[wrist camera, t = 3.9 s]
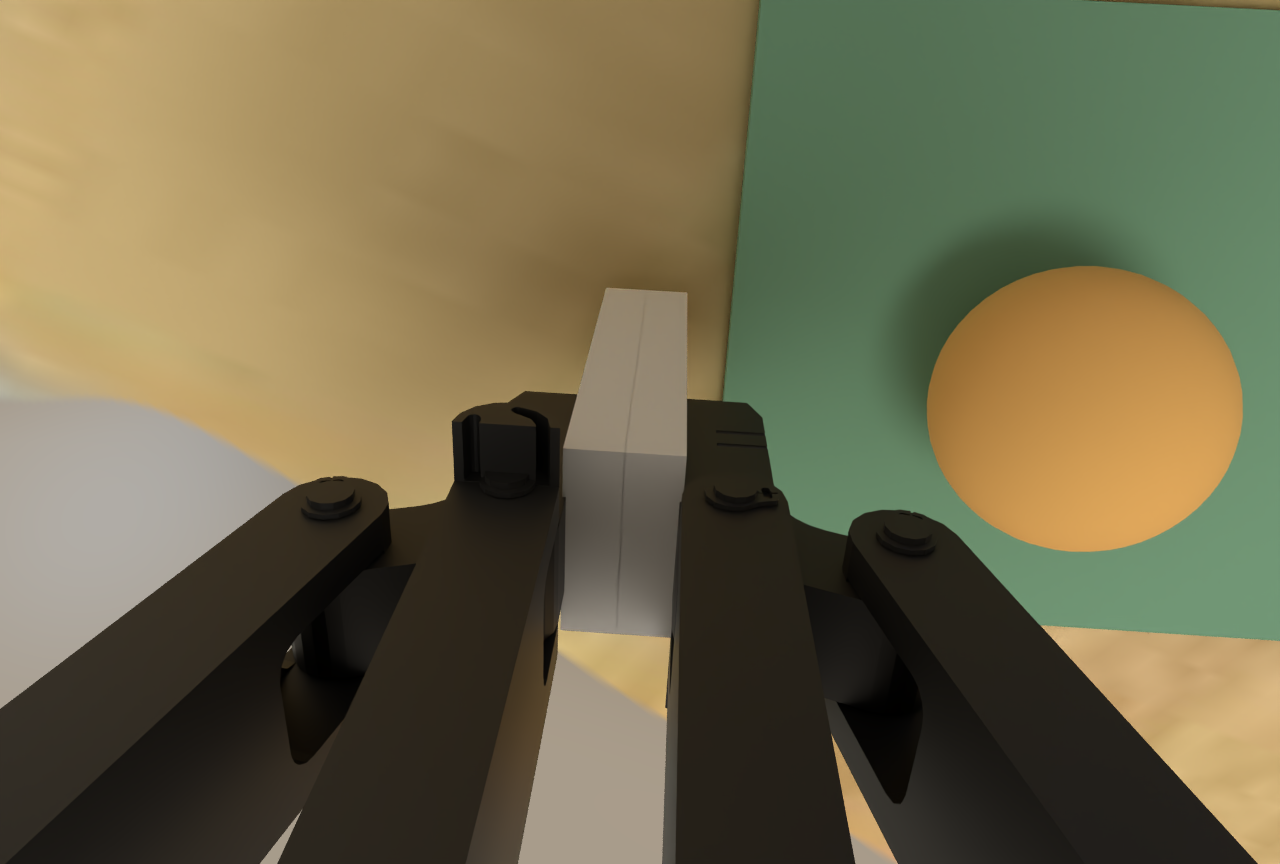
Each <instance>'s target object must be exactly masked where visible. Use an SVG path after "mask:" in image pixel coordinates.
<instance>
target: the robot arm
mask: <svg viewBox="0 0 1280 864" xmlns="http://www.w3.org/2000/svg"><path fill="white" fill-rule="evenodd" d="M452 435H453V457H454V480H455V481H454V483H453V485H452V487H451V489H450V492H449V494H448V496H447V498H446V500H443V501H440V502H437V503H433V504H428V505H422V506H416V507H407V508H398V509H389V503H388V496H387V492H386V491H385V490H384V489H382V488H381V487H380V486H379V485H378V484H376V483H373V482H370V481H367V480H364V479H359V478H347V477H344V476H334V477H333V478H330V477H325V478H320V479H317V480H315V481H312V482H308V483H305V484H301V485H299V486H297V487H295V488H293V489H291V490H289V491H288V492H286V493H284V494H283V495H281V496H280V497H279V498H277V499H276V500H275V501H273V502H272V503H271V504H269V505H268V506H267V507H265V508H264V509H263V510H261V511H260V512H259V513H258V514H256V515H255V516H254V517H252V518H251V519H250V520H248V521H247V522H246V523H245V524H243V525H242V526H240V527H239V528H238V529H236V530H235V531H234V532H233V533H231V534H230V535H229V536H227V537H226V538H225V539H223V540H222V541H221V542H220V543H218V544H217V545H215V546H214V547H213V548H211V549H210V550H209V551H208V552H206V553H205V554H204V555H202V556H201V557H200V558H198V559H197V560H196V561H194V562H193V563H192V564H190V565H189V566H188V567H186V568H185V569H184V570H183V571H181V572H180V573H179V574H177V575H176V576H175V577H173V578H172V579H171V580H169V581H168V582H167V583H165V584H164V585H163V586H161V587H160V588H159V589H158V590H156V591H155V592H154V593H152V594H151V595H150V596H148V597H147V598H146V599H144V600H143V601H142V602H140V603H139V604H138V605H136V606H135V607H134V608H133V609H131V610H130V611H129V612H127V613H126V614H125V615H123V616H122V617H121V618H119V619H118V620H117V621H115V622H114V623H113V624H111V625H110V626H109V627H108V628H106V629H105V630H104V631H102V632H101V633H100V634H98V635H97V636H96V637H95V638H93V639H92V640H90V641H89V642H88V643H86V644H85V645H84V646H83V647H81V648H80V649H79V650H77V651H76V652H75V653H73V654H72V655H71V656H69V657H68V658H67V659H65V660H64V661H63V662H62V663H60V664H59V665H58V666H56V667H55V668H54V669H52V670H51V671H50V672H48V673H47V674H46V675H44V676H43V677H42V678H40V679H39V680H38V681H36V682H35V683H34V684H33V685H31V686H30V687H29V688H27V689H26V690H25V691H23V692H22V693H21V694H19V695H18V696H17V697H16V698H14V699H13V700H11V701H10V702H9V703H8V704H6V705H5V706H4V707H2V708H1V709H0V864H260V862H261V861H262V860H263V859H264V857H265V856H266V855H267V854H268V852H269V851H270V850H271V848H272V847H273V846H274V845H275V843H276V842H277V841H278V839H279V838H280V837H281V836H282V834H283V833H284V832H285V831H286V829H287V828H288V826H289V825H290V824H291V823H292V821H293V820H294V819H295V818H296V816H297V815H298V814H299V813H300V811H301V810H302V811H301V814H300V816H299V818H298V820H297V822H296V824H295V827H294V829H293V831H292V833H291V835H290V837H289V840H288V842H287V844H286V846H285V848H284V851H283V853H282V855H281V857H280V859H279V861H278V864H518V860H519V854H520V849H521V844H522V839H523V833H524V827H525V823H526V817H527V812H528V807H529V802H530V796H531V791H532V786H533V780H534V775H535V770H536V765H537V760H538V754H539V749H540V744H541V739H542V733H543V728H544V723H545V718H546V712H547V706H548V702H549V696H550V691H551V686H552V681H553V675H554V670H555V664H556V660H557V652H558V620H559V615H560V610H561V630H567V631H582V632H597V633H611V634H626V635H640V636H655V637H670V638H671V642H670V655H669V667H668V680H667V693H666V706H665V708H667V738H666V767H665V799H664V828H663V829H664V830H663V860H662V864H855V860H854V855H853V849H852V844H851V838H850V833H849V827H848V822H847V816H846V811H845V806H844V800H843V795H842V790H841V784H840V779H839V773H838V768H837V763H836V757H835V752H834V747H833V741H832V736H833V738H834V740H835V742H836V744H837V746H838V747H839V749H840V751H841V753H842V755H843V757H844V759H845V761H846V763H847V765H848V767H849V769H850V771H851V773H852V775H853V777H854V779H855V781H856V783H857V785H858V787H859V789H860V791H861V792H862V794H863V796H864V798H865V800H866V802H867V804H868V806H869V808H870V810H871V812H872V814H873V816H874V818H875V820H876V822H877V824H878V826H879V828H880V830H881V832H882V834H883V835H884V837H885V839H886V841H887V843H888V845H889V847H890V849H891V851H892V853H893V855H894V857H895V859H896V861H897V863H898V864H1257V862H1256V861H1255V860H1254V859H1253V858H1252V857H1251V856H1250V855H1249V854H1248V853H1247V852H1246V850H1245V849H1244V848H1243V847H1242V846H1241V845H1240V844H1239V843H1238V842H1237V841H1236V839H1235V838H1234V837H1233V836H1232V835H1231V834H1230V833H1229V832H1228V831H1227V830H1226V829H1225V827H1224V826H1223V825H1222V824H1221V823H1220V822H1219V821H1218V820H1217V819H1216V818H1215V816H1214V815H1213V814H1212V813H1211V812H1210V811H1209V810H1208V809H1207V808H1206V807H1205V806H1204V804H1203V803H1202V802H1201V801H1200V800H1199V799H1198V798H1197V797H1196V796H1195V795H1194V793H1193V792H1192V791H1191V790H1190V789H1189V788H1188V787H1187V786H1186V785H1185V784H1184V783H1183V781H1182V780H1181V779H1180V778H1179V777H1178V776H1177V775H1176V774H1175V773H1174V772H1173V770H1172V769H1171V768H1170V767H1169V766H1168V765H1167V764H1166V763H1165V762H1164V761H1163V760H1162V758H1161V757H1160V756H1159V755H1158V754H1157V753H1156V752H1155V751H1154V750H1153V749H1152V747H1151V746H1150V745H1149V744H1148V743H1147V742H1146V741H1145V740H1144V739H1143V738H1142V737H1141V735H1140V734H1139V733H1138V732H1137V731H1136V730H1135V729H1134V728H1133V727H1132V726H1131V724H1130V723H1129V722H1128V721H1127V720H1126V719H1125V718H1124V717H1123V716H1122V715H1121V714H1120V712H1119V711H1118V710H1117V709H1116V708H1115V707H1114V706H1113V705H1112V704H1111V703H1110V701H1109V700H1108V699H1107V698H1106V697H1105V696H1104V695H1103V694H1102V693H1101V692H1100V691H1099V689H1098V688H1097V687H1096V686H1095V685H1094V684H1093V683H1092V682H1091V681H1090V680H1089V678H1088V677H1087V676H1086V675H1085V674H1084V673H1083V672H1082V671H1081V670H1080V669H1079V668H1078V666H1077V665H1076V664H1075V663H1074V662H1073V661H1072V660H1071V659H1070V658H1069V657H1068V656H1067V654H1066V653H1065V652H1064V651H1063V650H1062V649H1061V648H1060V647H1059V646H1058V645H1057V643H1056V642H1055V641H1054V640H1053V639H1052V638H1051V637H1050V636H1049V635H1048V634H1047V633H1046V631H1045V630H1044V629H1043V628H1042V627H1041V626H1040V625H1039V624H1038V623H1037V622H1036V620H1035V619H1034V618H1033V617H1032V616H1031V615H1030V614H1029V613H1028V612H1027V611H1026V610H1025V608H1024V607H1023V606H1022V605H1021V604H1020V603H1019V602H1018V601H1017V600H1016V599H1015V597H1014V596H1013V595H1012V594H1011V593H1010V592H1009V591H1008V590H1007V589H1006V588H1005V587H1004V585H1003V584H1002V583H1001V582H1000V581H999V580H998V579H997V578H996V577H995V576H994V574H993V573H992V572H991V571H990V570H989V569H988V568H987V567H986V566H985V565H984V564H983V562H982V561H981V560H980V559H979V558H978V557H977V556H976V555H975V554H974V553H973V551H972V550H971V549H970V548H969V547H968V546H967V545H966V544H965V543H964V542H963V541H962V539H961V538H960V537H959V536H958V535H957V534H956V533H954V532H953V531H952V530H950V529H949V528H948V527H947V526H945V525H944V524H942V523H940V522H938V521H935V520H933V519H931V518H929V517H927V516H925V515H923V514H920V513H916V512H913V513H911V511H907V510H877V511H872V512H867V513H864V514H862V515H860V516H859V517H857V518H855V519H854V520H853V521H852V523H851V526H850V528H849V531H848V536H847V535H842V534H838V533H834V532H830V531H826V530H823V529H820V528H817V527H813V526H810V525H808V524H806V523H804V522H802V521H800V520H798V519H796V518H794V517H793V516H792V515H790V510H789V505H788V501H787V499H786V497H785V496H784V494H783V492H782V491H781V490H779V489H778V488H777V487H775V486H774V482H773V477H772V471H771V465H770V459H769V453H768V449H767V441H766V436H765V430H764V424H763V418H762V417H761V416H760V415H759V414H758V413H757V412H756V411H755V410H754V409H753V408H752V407H751V406H750V405H749V404H748V403H742V402H727V401H711V400H695V399H687V292H671V291H654V290H638V289H621V288H606V290H605V294H604V298H603V301H602V305H601V309H600V312H599V316H598V320H597V324H596V327H595V331H594V335H593V338H592V342H591V346H590V350H589V353H588V357H587V361H586V364H585V368H584V372H583V376H582V379H581V383H580V387H579V391H578V394H561V393H546V392H530V391H525V392H523V393H522V394H520V395H519V396H517V397H516V398H514V399H513V400H511V401H510V402H508V403H492V404H486V405H481V406H476V407H473V408H471V409H469V410H466V411H464V412H462V413H460V414H459V415H458V416H457V417H456V418H455V419H454V420H453V421H452ZM291 645H292V648H291V649H290V650H289V651H288V652H287V650H288V649H289V648H290V646H291ZM831 734H832V736H831Z"/></svg>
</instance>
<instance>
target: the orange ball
mask: <svg viewBox="0 0 1280 864" xmlns="http://www.w3.org/2000/svg"><path fill="white" fill-rule="evenodd" d="M1242 420H1243V399H1242V388H1241V382H1240V377H1239V374H1238V371H1237V368H1236V365H1235V362H1234V360H1233V357H1232V354H1231V351H1230V349H1229V348H1228V346H1227V344H1226V342H1225V341H1224V339H1223V337H1222V336H1221V334H1220V333H1219V331H1218V330H1217V329H1216V327H1215V326H1214V325H1213V324H1212V322H1211V321H1210V320H1209V319H1208V317H1207V316H1206V315H1205V314H1204V313H1203V312H1202V311H1200V310H1199V309H1198V308H1197V307H1196V306H1195V305H1194V304H1192V303H1191V302H1190V301H1189V300H1188V299H1186V298H1185V297H1184V296H1183V295H1181V294H1179V293H1178V292H1176V291H1175V290H1173V289H1171V288H1170V287H1168V286H1166V285H1164V284H1162V283H1160V282H1158V281H1155V280H1153V279H1150V278H1148V277H1146V276H1143V275H1141V274H1137V273H1133V272H1130V271H1126V270H1121V269H1115V268H1108V267H1100V266H1074V267H1066V268H1058V269H1051V270H1047V271H1043V272H1039V273H1035V274H1032V275H1030V276H1027V277H1024V278H1022V279H1019V280H1016V281H1015V282H1013V283H1011V284H1009V285H1007V286H1005V287H1003V288H1001V289H999V290H998V291H996V292H995V293H993V294H992V295H990V296H989V297H987V298H986V299H984V300H983V301H982V302H981V303H980V304H978V305H977V306H976V307H975V308H974V309H972V310H971V311H970V312H969V313H968V314H967V315H966V316H965V318H964V319H963V320H962V321H961V322H960V323H959V324H958V325H957V327H956V328H955V329H954V331H953V332H952V333H951V335H950V336H949V338H948V339H947V341H946V343H945V345H944V346H943V348H942V350H941V352H940V354H939V356H938V359H937V361H936V364H935V366H934V370H933V373H932V377H931V380H930V384H929V389H928V397H927V424H928V431H929V437H930V442H931V445H932V448H933V451H934V454H935V457H936V459H937V462H938V465H939V467H940V469H941V470H942V472H943V474H944V476H945V478H946V479H947V481H948V482H949V484H950V485H951V487H952V488H953V489H954V491H955V492H956V493H957V495H958V496H959V497H960V499H961V500H962V501H963V502H964V503H965V504H966V505H967V506H968V507H969V508H970V509H971V510H973V511H974V512H975V513H976V514H977V515H978V516H979V517H981V518H982V519H983V520H985V521H986V522H988V523H989V524H990V525H992V526H993V527H995V528H997V529H999V530H1001V531H1003V532H1005V533H1006V534H1008V535H1010V536H1012V537H1014V538H1016V539H1019V540H1022V541H1024V542H1027V543H1029V544H1033V545H1037V546H1041V547H1045V548H1049V549H1054V550H1061V551H1069V552H1095V551H1105V550H1113V549H1118V548H1123V547H1127V546H1130V545H1134V544H1137V543H1140V542H1143V541H1145V540H1148V539H1150V538H1152V537H1155V536H1157V535H1159V534H1161V533H1163V532H1165V531H1166V530H1168V529H1170V528H1172V527H1173V526H1175V525H1176V524H1178V523H1179V522H1181V521H1182V520H1184V519H1185V518H1187V517H1188V516H1189V515H1190V514H1191V513H1192V512H1194V511H1195V510H1196V509H1197V508H1198V507H1199V506H1200V505H1201V504H1202V503H1203V502H1204V501H1205V500H1206V499H1207V498H1208V497H1209V496H1210V495H1211V493H1212V492H1213V491H1214V490H1215V488H1216V487H1217V486H1218V484H1219V483H1220V481H1221V480H1222V478H1223V476H1224V475H1225V473H1226V472H1227V470H1228V468H1229V465H1230V463H1231V461H1232V459H1233V456H1234V454H1235V451H1236V448H1237V444H1238V441H1239V437H1240V434H1241V427H1242Z"/></svg>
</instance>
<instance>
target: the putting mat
mask: <svg viewBox="0 0 1280 864" xmlns="http://www.w3.org/2000/svg"><path fill="white" fill-rule="evenodd" d="M1074 266H1100V267H1108V268H1115V269H1121V270H1126V271H1130V272H1133V273H1137V274H1141V275H1143V276H1146V277H1148V278H1150V279H1153V280H1155V281H1158V282H1160V283H1162V284H1164V285H1166V286H1168V287H1170V288H1171V289H1173V290H1175V291H1176V292H1178V293H1179V294H1181V295H1183V296H1184V297H1185V298H1186V299H1188V300H1189V301H1190V302H1191V303H1192V304H1194V305H1195V306H1196V307H1197V308H1198V309H1199V310H1200V311H1202V312H1203V313H1204V314H1205V315H1206V316H1207V317H1208V319H1209V320H1210V321H1211V322H1212V324H1213V325H1214V326H1215V327H1216V329H1217V330H1218V331H1219V333H1220V334H1221V336H1222V337H1223V339H1224V341H1225V342H1226V344H1227V346H1228V348H1229V349H1230V351H1231V354H1232V357H1233V360H1234V362H1235V365H1236V368H1237V371H1238V374H1239V377H1240V382H1241V388H1242V399H1243V420H1242V427H1241V434H1240V437H1239V441H1238V444H1237V448H1236V451H1235V454H1234V456H1233V459H1232V461H1231V463H1230V465H1229V468H1228V470H1227V472H1226V473H1225V475H1224V476H1223V478H1222V480H1221V481H1220V483H1219V484H1218V486H1217V487H1216V488H1215V490H1214V491H1213V492H1212V493H1211V495H1210V496H1209V497H1208V498H1207V499H1206V500H1205V501H1204V502H1203V503H1202V504H1201V505H1200V506H1199V507H1198V508H1197V509H1196V510H1195V511H1194V512H1192V513H1191V514H1190V515H1189V516H1188V517H1187V518H1185V519H1184V520H1182V521H1181V522H1179V523H1178V524H1176V525H1175V526H1173V527H1172V528H1170V529H1168V530H1166V531H1165V532H1163V533H1161V534H1159V535H1157V536H1155V537H1152V538H1150V539H1148V540H1145V541H1143V542H1140V543H1137V544H1134V545H1130V546H1127V547H1123V548H1118V549H1113V550H1105V551H1095V552H1069V551H1061V550H1054V549H1049V548H1045V547H1041V546H1037V545H1033V544H1029V543H1027V542H1024V541H1022V540H1019V539H1016V538H1014V537H1012V536H1010V535H1008V534H1006V533H1005V532H1003V531H1001V530H999V529H997V528H995V527H993V526H992V525H990V524H989V523H988V522H986V521H985V520H983V519H982V518H981V517H979V516H978V515H977V514H976V513H975V512H974V511H973V510H971V509H970V508H969V507H968V506H967V505H966V504H965V503H964V502H963V501H962V500H961V499H960V497H959V496H958V495H957V493H956V492H955V491H954V489H953V488H952V487H951V485H950V484H949V482H948V481H947V479H946V478H945V476H944V474H943V472H942V470H941V469H940V467H939V465H938V462H937V459H936V457H935V454H934V451H933V448H932V445H931V442H930V437H929V431H928V424H927V397H928V389H929V384H930V380H931V377H932V373H933V370H934V366H935V364H936V361H937V359H938V356H939V354H940V352H941V350H942V348H943V346H944V345H945V343H946V341H947V339H948V338H949V336H950V335H951V333H952V332H953V331H954V329H955V328H956V327H957V325H958V324H959V323H960V322H961V321H962V320H963V319H964V318H965V316H966V315H967V314H968V313H969V312H970V311H971V310H972V309H974V308H975V307H976V306H977V305H978V304H980V303H981V302H982V301H983V300H984V299H986V298H987V297H989V296H990V295H992V294H993V293H995V292H996V291H998V290H999V289H1001V288H1003V287H1005V286H1007V285H1009V284H1011V283H1013V282H1015V281H1016V280H1019V279H1022V278H1024V277H1027V276H1030V275H1032V274H1035V273H1039V272H1043V271H1047V270H1051V269H1058V268H1066V267H1074ZM722 401H727V402H742V403H748V404H749V405H750V406H751V407H752V408H753V409H754V410H755V411H756V412H757V413H758V414H759V415H760V416H761V417H762V418H763V424H764V430H765V436H766V441H767V449H768V453H769V459H770V465H771V471H772V477H773V482H774V486H775V487H777V488H778V489H779V490H781V491H782V492H783V494H784V496H785V497H786V499H787V501H788V505H789V510H790V515H792V516H793V517H794V518H796V519H798V520H800V521H802V522H804V523H806V524H808V525H810V526H813V527H817V528H820V529H823V530H826V531H830V532H834V533H838V534H842V535H847V536H848V531H849V528H850V526H851V523H852V521H853V520H854V519H855V518H857V517H859V516H860V515H862V514H864V513H867V512H872V511H877V510H907V511H911V513H913V512H916V513H920V514H923V515H925V516H927V517H929V518H931V519H933V520H935V521H938V522H940V523H942V524H944V525H945V526H947V527H948V528H949V529H950V530H952V531H953V532H954V533H956V534H957V535H958V536H959V537H960V538H961V539H962V541H963V542H964V543H965V544H966V545H967V546H968V547H969V548H970V549H971V550H972V551H973V553H974V554H975V555H976V556H977V557H978V558H979V559H980V560H981V561H982V562H983V564H984V565H985V566H986V567H987V568H988V569H989V570H990V571H991V572H992V573H993V574H994V576H995V577H996V578H997V579H998V580H999V581H1000V582H1001V583H1002V584H1003V585H1004V587H1005V588H1006V589H1007V590H1008V591H1009V592H1010V593H1011V594H1012V595H1013V596H1014V597H1015V599H1016V600H1017V601H1018V602H1019V603H1020V604H1021V605H1022V606H1023V607H1024V608H1025V610H1026V611H1027V612H1028V613H1029V614H1030V615H1031V616H1032V617H1033V618H1034V619H1035V620H1036V622H1037V623H1038V624H1039V625H1047V626H1062V627H1077V628H1092V629H1108V630H1123V631H1138V632H1153V633H1169V634H1184V635H1199V636H1214V637H1229V638H1245V639H1260V640H1275V641H1280V10H1262V9H1243V8H1223V7H1204V6H1184V5H1165V4H1145V3H1126V2H1107V1H1087V0H760V1H759V12H758V23H757V33H756V44H755V55H754V66H753V76H752V87H751V98H750V109H749V119H748V130H747V141H746V151H745V162H744V173H743V184H742V194H741V205H740V216H739V227H738V237H737V248H736V259H735V270H734V280H733V291H732V302H731V313H730V323H729V334H728V345H727V356H726V366H725V377H724V388H723V399H722Z"/></svg>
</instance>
